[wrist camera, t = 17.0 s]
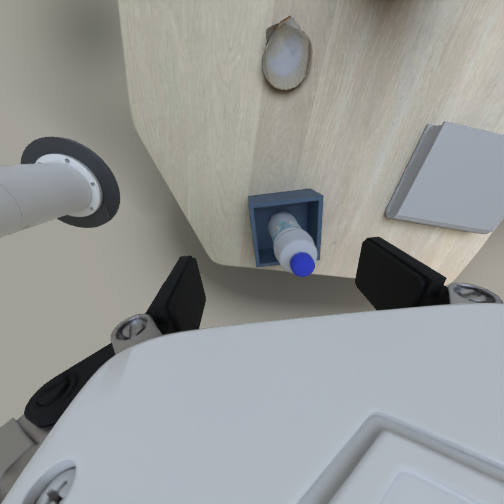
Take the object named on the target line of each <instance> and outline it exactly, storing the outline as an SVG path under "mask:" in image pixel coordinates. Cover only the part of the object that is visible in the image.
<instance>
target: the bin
mask: <svg viewBox="0 0 504 504" xmlns="http://www.w3.org/2000/svg"><path fill="white" fill-rule="evenodd" d="M248 199H249V209H250V218H251V226H252V234H253V242H254V251H255V259H256V267H264V266H273V265H280V263H279V261H278V260H277V259H276V257H275V254H274V243H273V240H272V237H271V235H270V233H269V230H268V222H269V221H270V219H271V217H272V215H274V214H276V213H279V212H282V211H285V212H287V213H290V214H291V215H293V216H294V218H295V219H296V221H297V223H298V225H299V226H300V227H301V229H302V230H304V231H306V232H307V233H308V234H309V235H310V236H311V238H312V239H313V242H314V245H315V247H316V249H317V260H320V247H321V229H322V211H323V195H321V194H320V193H318V192H316V191H314V190H312V189H303V190H295V191H286V192H278V193H270V194H262V195H254V196H248ZM317 260H316V261H317Z"/></svg>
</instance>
